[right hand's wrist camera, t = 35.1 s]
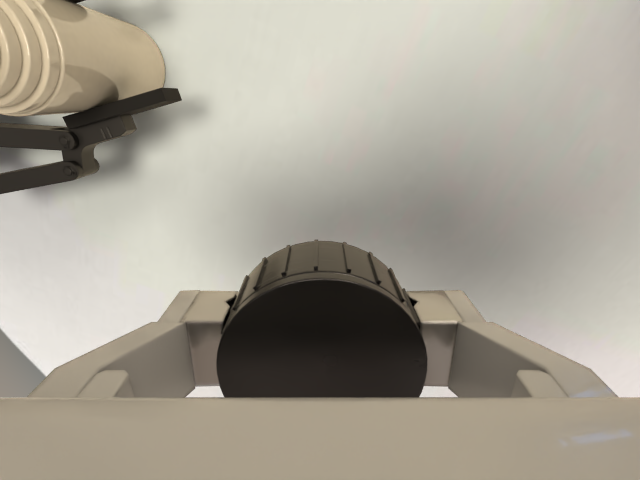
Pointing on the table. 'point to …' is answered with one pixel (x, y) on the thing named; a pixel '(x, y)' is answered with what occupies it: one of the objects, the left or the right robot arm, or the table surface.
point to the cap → (321, 328)
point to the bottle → (71, 58)
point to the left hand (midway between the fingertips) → (148, 34)
